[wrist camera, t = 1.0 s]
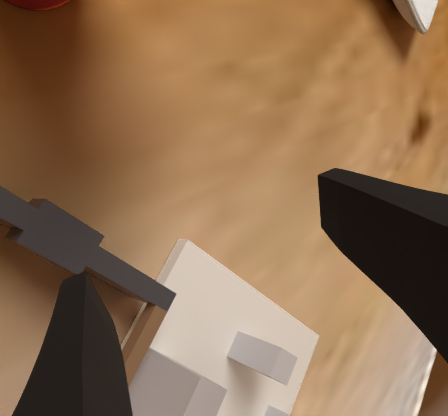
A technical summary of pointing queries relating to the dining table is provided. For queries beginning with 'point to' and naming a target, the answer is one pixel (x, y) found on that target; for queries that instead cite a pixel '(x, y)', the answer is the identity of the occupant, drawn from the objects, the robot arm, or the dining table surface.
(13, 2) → the paper cup
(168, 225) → the dining table surface
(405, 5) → the square plate
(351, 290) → the dining table surface
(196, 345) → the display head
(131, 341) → the glasses
